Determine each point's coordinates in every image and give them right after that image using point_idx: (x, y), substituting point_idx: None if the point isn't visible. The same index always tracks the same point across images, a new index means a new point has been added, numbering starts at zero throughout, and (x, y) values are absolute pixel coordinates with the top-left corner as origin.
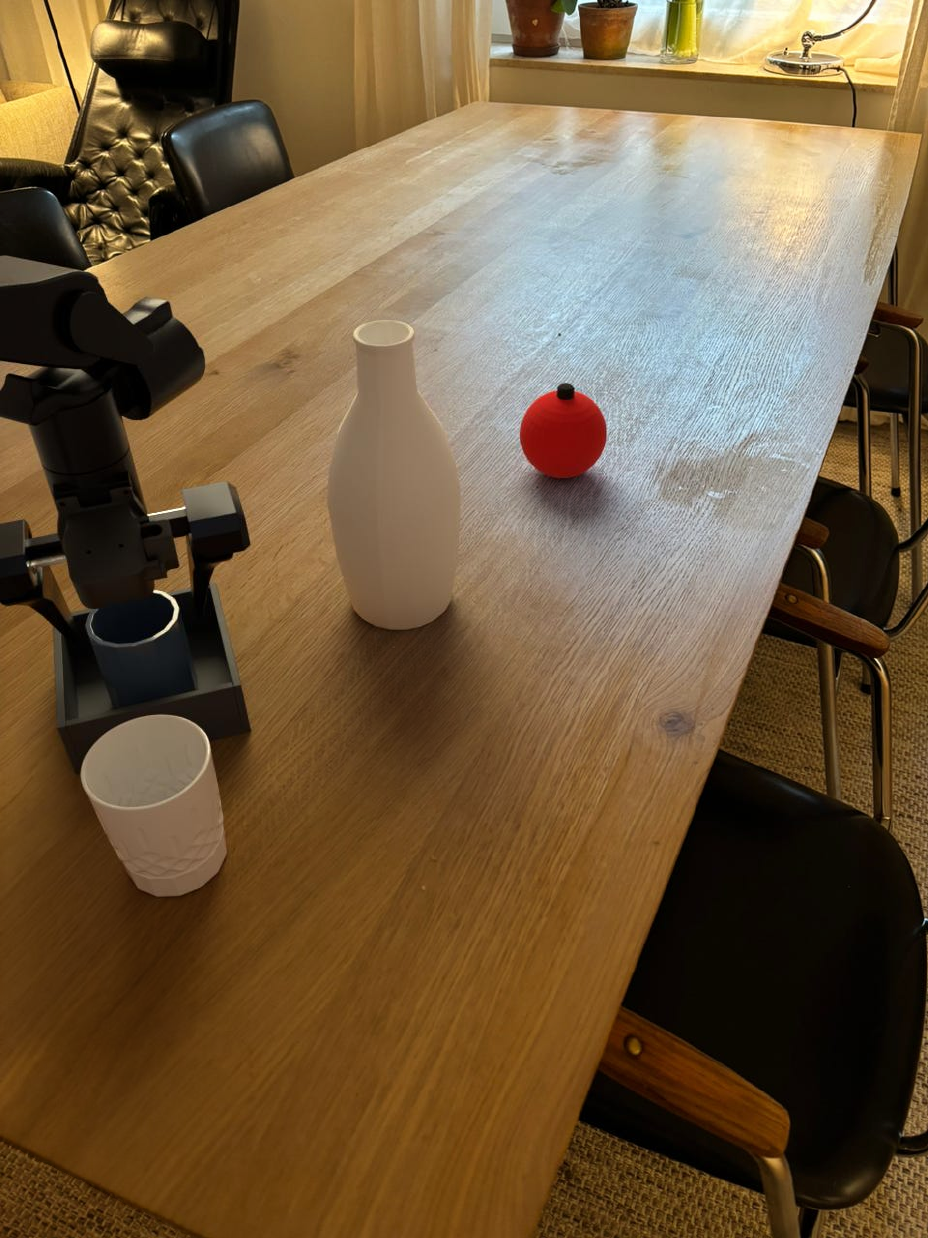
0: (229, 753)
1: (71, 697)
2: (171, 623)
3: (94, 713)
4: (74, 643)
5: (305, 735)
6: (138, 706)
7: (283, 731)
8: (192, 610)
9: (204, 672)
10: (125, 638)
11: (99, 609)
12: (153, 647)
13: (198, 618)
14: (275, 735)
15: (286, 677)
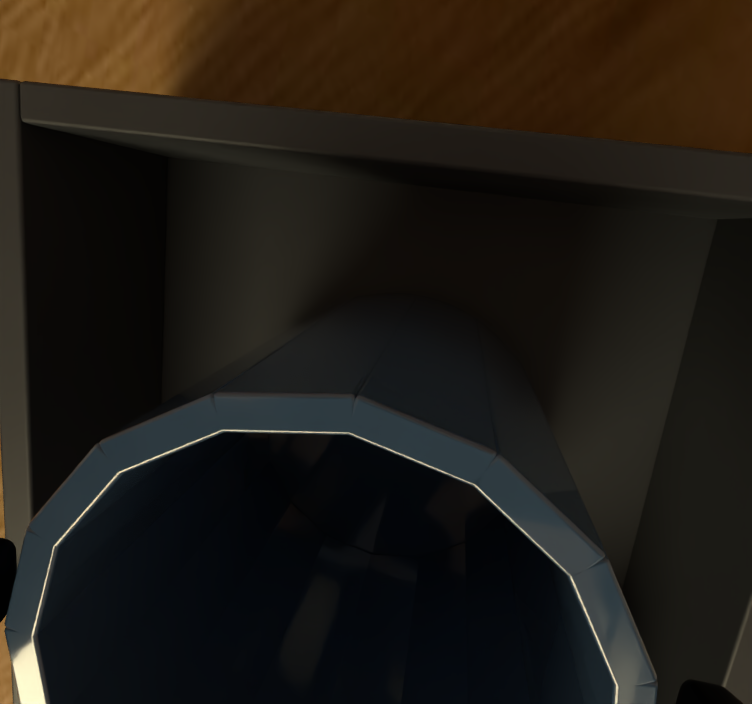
0: (240, 59)
1: (695, 489)
2: (65, 509)
3: (604, 434)
4: (721, 697)
5: (7, 33)
6: (473, 148)
7: (66, 84)
8: None
9: None
10: (418, 657)
11: None
12: (247, 373)
13: (4, 539)
14: (92, 77)
15: None
